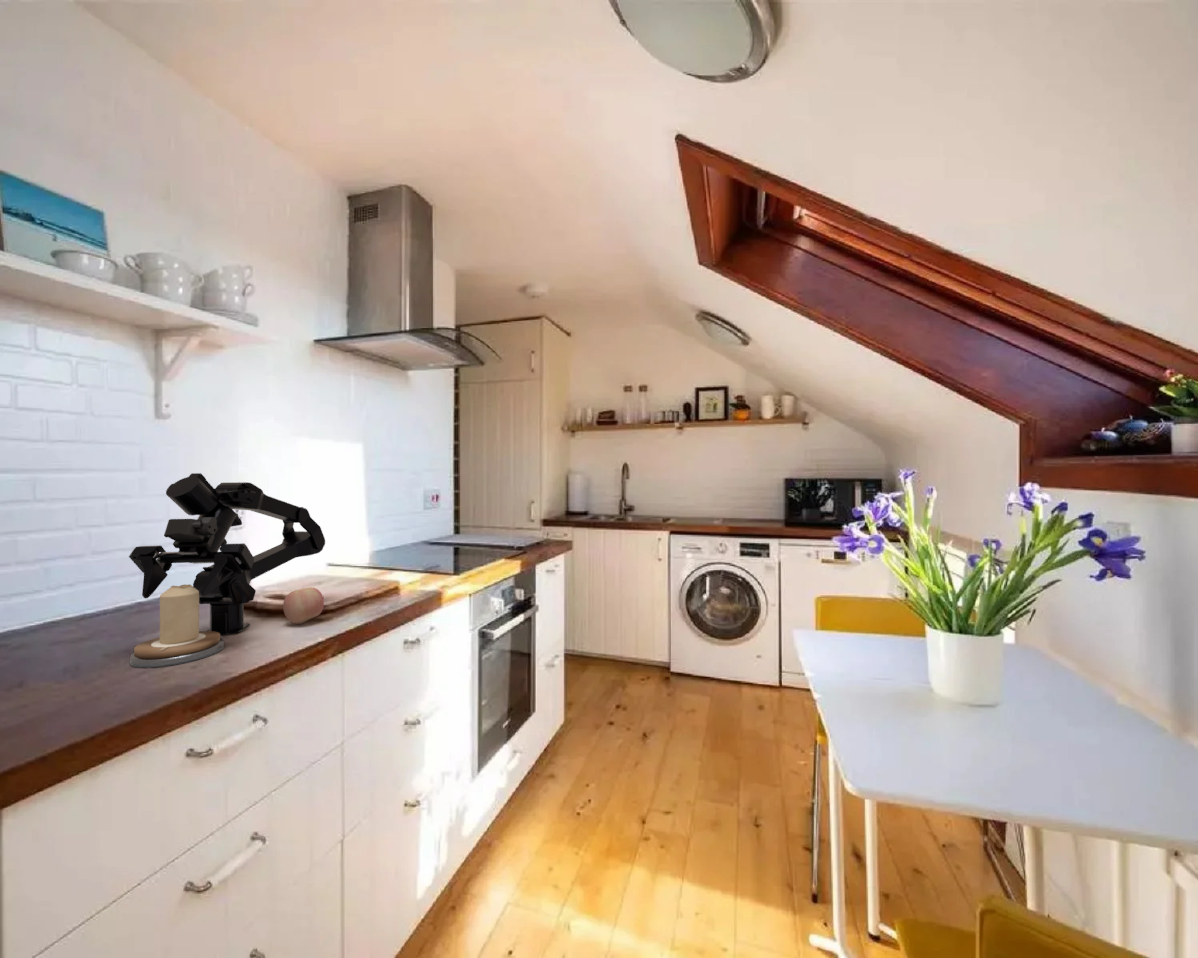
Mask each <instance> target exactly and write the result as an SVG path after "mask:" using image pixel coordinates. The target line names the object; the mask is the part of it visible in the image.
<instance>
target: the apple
mask: <svg viewBox="0 0 1198 958" xmlns="http://www.w3.org/2000/svg"><path fill="white" fill-rule="evenodd" d="M282 607H283V608H282V609H283V613H284V615H285V617H286V618H287V620H288V621H290V622H291V623H292V624H297V625H302V624H304V623H306V622H307V621H310V620H312V619H313V618H315V617H318V616H319V615H320V614H321V613H322V611H323V610H324V607H325V599H324V596H323V594H322V592H321V591H320V590H319V589H318V588H316V587H313V586H312V587H303V588H300V589H299V588H298V589H295V590H292V591H290V592H288V593H287V594H286V596H285V598H284V600H283V603H282Z"/></svg>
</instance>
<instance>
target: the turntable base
mask: <svg viewBox="0 0 1198 958" xmlns="http://www.w3.org/2000/svg"><path fill="white" fill-rule="evenodd" d="M224 644H225V641H224V639H223V638H222V637H220V642H219V643H218V644H216V645H214V646H212V647H209V648H207V649H204V650H201V651H197V652H193V653H189V654H184V655H179V656H173V657H166V658H156V659H142V658H137V657H135V656H134V652H133V653H131V655H130V657H129V665H130V666H131V667H133V668H139V669H154V668H155V669H157V668H164V667H172V666H177V665H181V664H186V663H191V662H195V661H199V660H202V659H206V658H208V657H211V656H213V655H215V654H216V655H217V653H219V652H221V651H222V650H223V649H224V647H225V646H224Z"/></svg>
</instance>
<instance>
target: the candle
mask: <svg viewBox="0 0 1198 958" xmlns="http://www.w3.org/2000/svg"><path fill="white" fill-rule="evenodd" d="M199 631H200V604H199V591H198V590H197V589H195V588H194V587H193V584H181V585H171V586H170V587H169V588H167V589H166V590H165V591H163V593H161V594H160V595H159V637H160V643H162V644H174V643H181V642H186V641H190V640H193V639H195V638H197V637H198V636H199Z"/></svg>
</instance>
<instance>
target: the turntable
mask: <svg viewBox="0 0 1198 958" xmlns="http://www.w3.org/2000/svg"><path fill="white" fill-rule="evenodd" d="M220 638H221V635H220V633H218V632H215V631H208V630H199V636H198V637H197V638H195V639H193V640H190V641H186V642H181V643H174V644H162V643H160V636H159V637H157V638H153V639H152V638H151V639H149V640H146V641H144V642H142V643H138V644H137V645H135V646H134V648H133V653H134V656H135V657H137V658H142V659H156V658H166V657H173V656H179V655H184V654H189V653H193V652H197V651H201V650H204V649H207V648H209V647H212V646H214V645H216V644H218V643H219V642H220Z"/></svg>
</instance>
